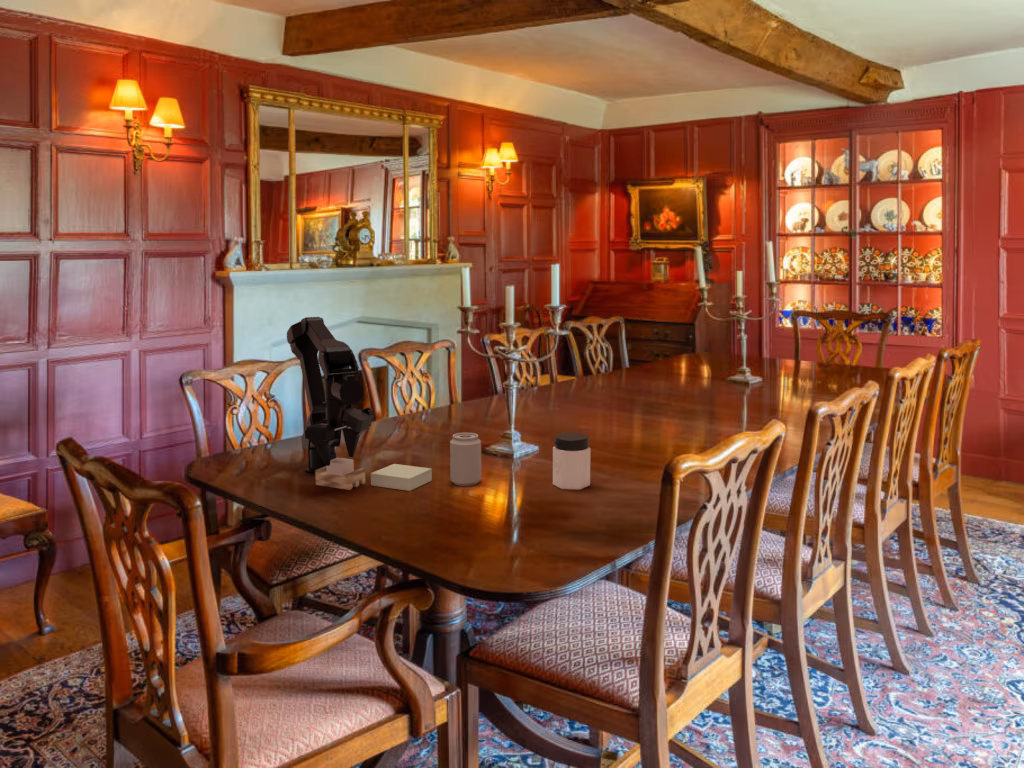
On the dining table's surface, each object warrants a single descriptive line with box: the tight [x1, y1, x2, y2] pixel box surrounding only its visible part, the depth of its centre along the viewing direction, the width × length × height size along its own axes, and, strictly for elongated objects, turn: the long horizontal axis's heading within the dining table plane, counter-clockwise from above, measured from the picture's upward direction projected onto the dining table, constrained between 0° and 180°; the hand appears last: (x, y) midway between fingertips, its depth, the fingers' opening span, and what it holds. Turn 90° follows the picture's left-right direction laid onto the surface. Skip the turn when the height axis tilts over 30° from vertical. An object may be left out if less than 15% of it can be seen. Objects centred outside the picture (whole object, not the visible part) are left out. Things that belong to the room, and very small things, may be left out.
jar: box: [552, 432, 591, 491], centre depth 204 cm, size 9×8×12 cm
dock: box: [370, 463, 433, 492], centre depth 207 cm, size 11×10×3 cm
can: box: [449, 432, 482, 487], centre depth 206 cm, size 8×8×12 cm
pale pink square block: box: [326, 457, 355, 476], centre depth 206 cm, size 5×5×3 cm
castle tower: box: [314, 467, 366, 491], centre depth 206 cm, size 10×6×4 cm, turn 64°
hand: (339, 461), depth 206 cm, fingers open, 9 cm apart
